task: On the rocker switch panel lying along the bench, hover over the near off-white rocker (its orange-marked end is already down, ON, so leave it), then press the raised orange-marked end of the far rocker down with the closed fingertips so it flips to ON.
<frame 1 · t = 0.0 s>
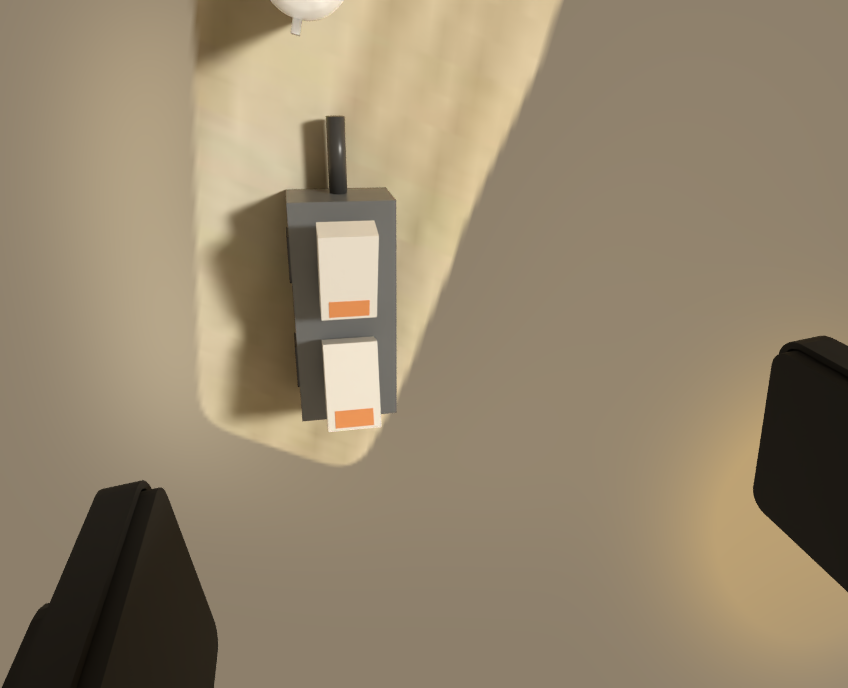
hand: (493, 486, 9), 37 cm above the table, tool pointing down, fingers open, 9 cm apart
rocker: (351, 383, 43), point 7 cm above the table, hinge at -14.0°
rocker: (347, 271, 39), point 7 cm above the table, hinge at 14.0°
rocker switch panel: (340, 295, 47), on the table
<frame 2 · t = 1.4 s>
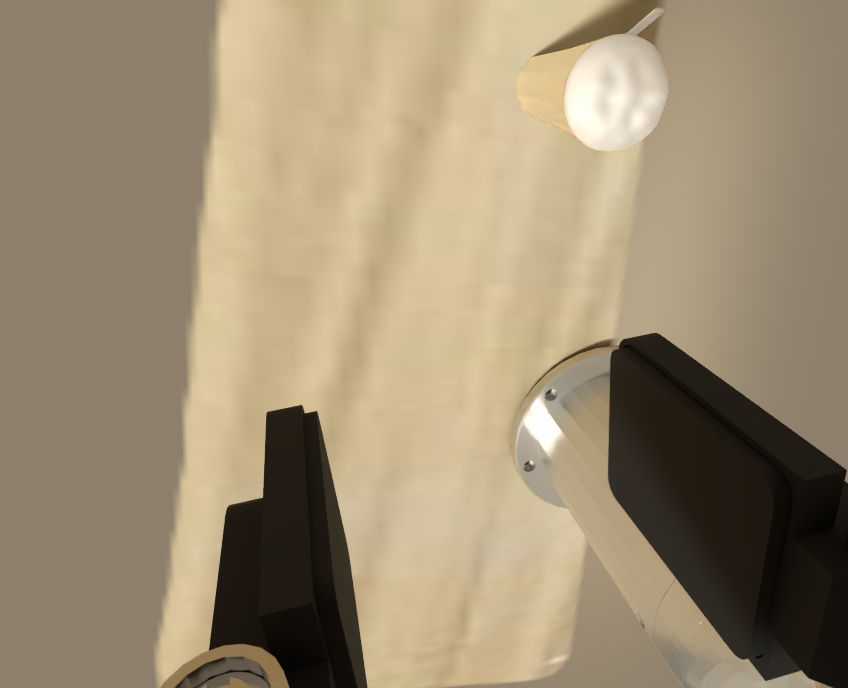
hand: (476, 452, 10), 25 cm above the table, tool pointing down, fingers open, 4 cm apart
milkshake: (543, 78, 33), on the table
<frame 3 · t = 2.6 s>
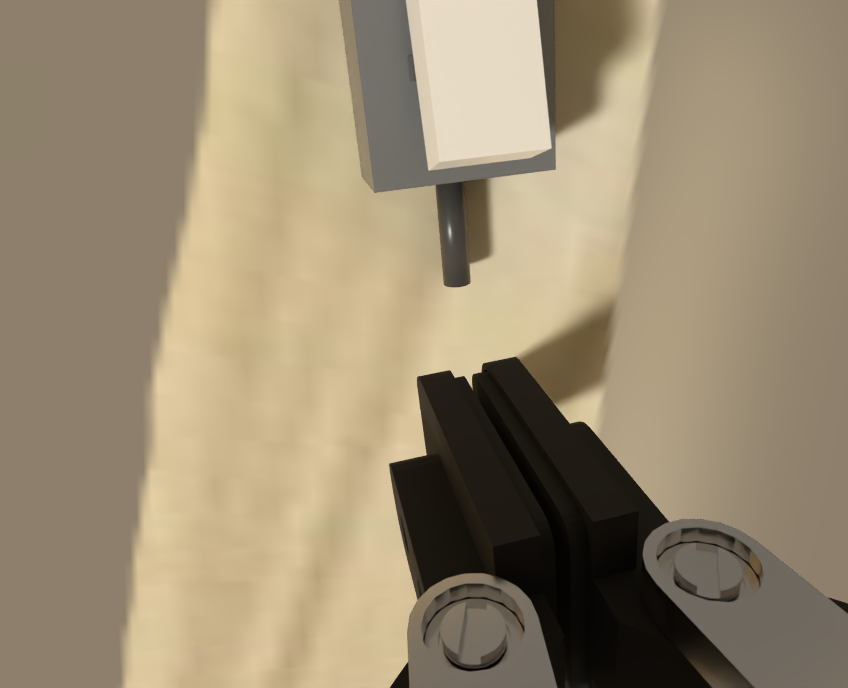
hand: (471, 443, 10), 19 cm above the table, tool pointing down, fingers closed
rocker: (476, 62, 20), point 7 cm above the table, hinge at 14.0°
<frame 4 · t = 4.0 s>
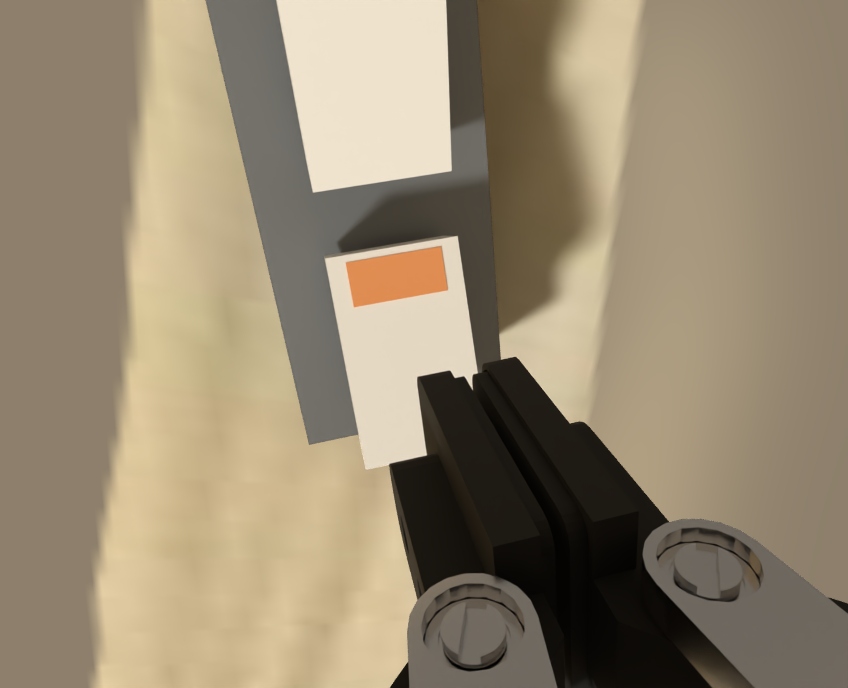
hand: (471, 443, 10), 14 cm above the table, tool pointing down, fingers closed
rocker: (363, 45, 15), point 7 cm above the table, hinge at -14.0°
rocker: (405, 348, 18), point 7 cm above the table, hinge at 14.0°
rocker switch panel: (358, 172, 22), on the table
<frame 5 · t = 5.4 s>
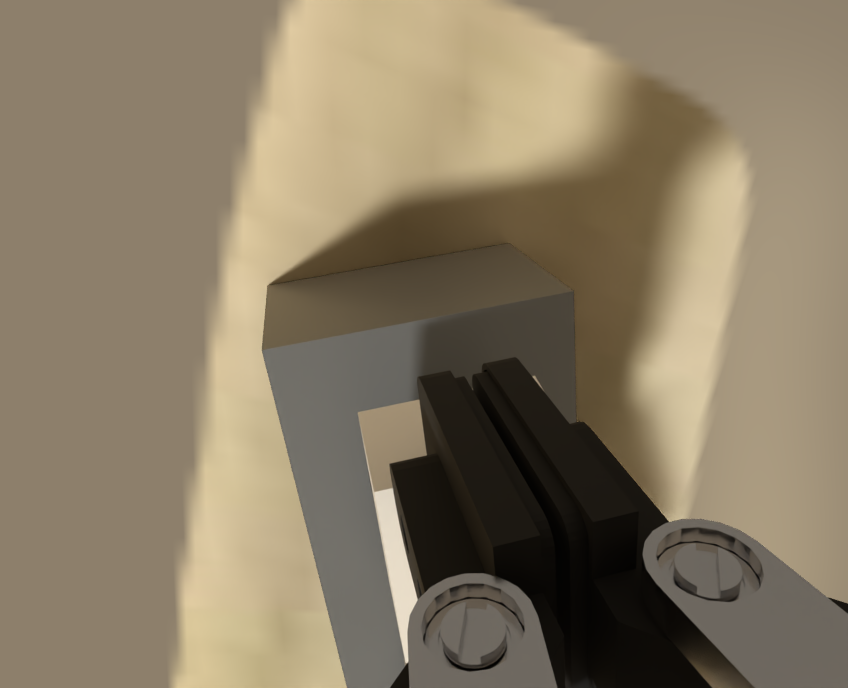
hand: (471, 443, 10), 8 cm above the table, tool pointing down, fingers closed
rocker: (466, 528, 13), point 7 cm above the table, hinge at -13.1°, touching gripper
rocker switch panel: (424, 490, 21), on the table
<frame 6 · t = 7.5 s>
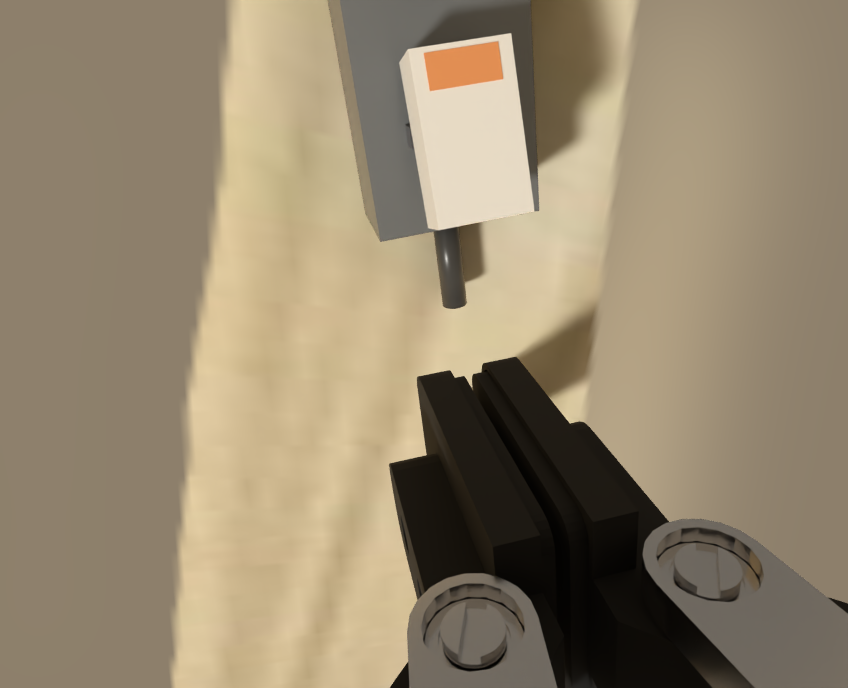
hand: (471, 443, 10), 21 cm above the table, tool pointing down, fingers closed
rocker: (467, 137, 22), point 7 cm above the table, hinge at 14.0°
rocker switch panel: (413, 16, 26), on the table
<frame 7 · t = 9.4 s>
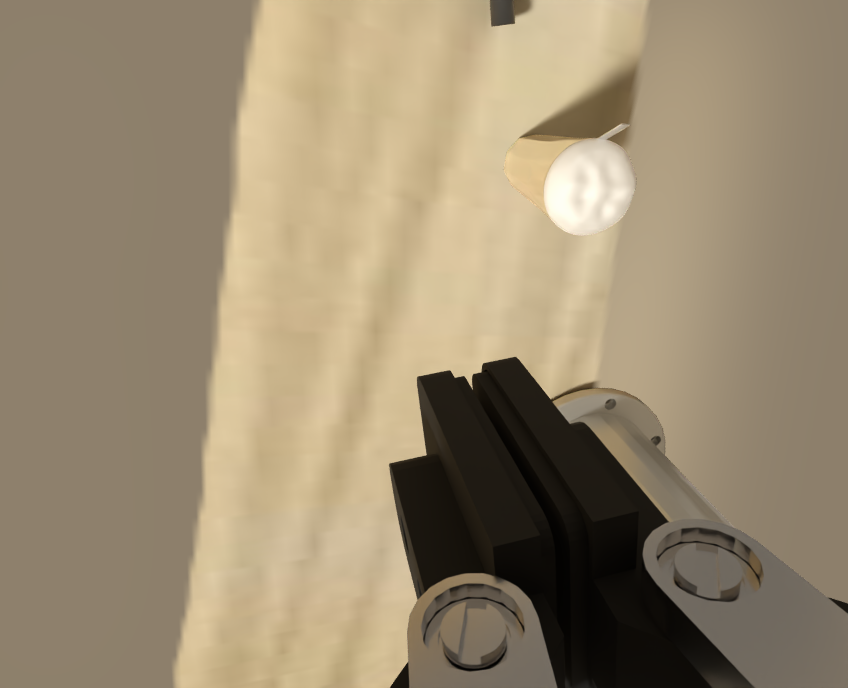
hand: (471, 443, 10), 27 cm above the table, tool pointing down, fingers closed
milkshake: (529, 155, 37), on the table
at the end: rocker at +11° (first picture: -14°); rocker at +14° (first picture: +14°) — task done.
